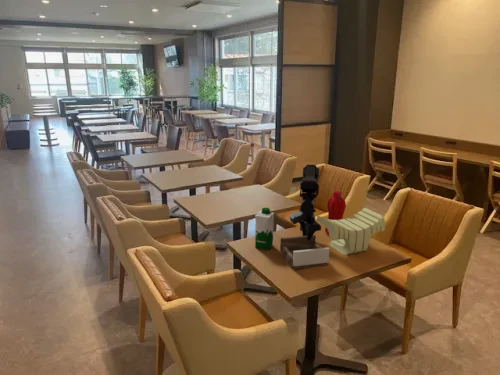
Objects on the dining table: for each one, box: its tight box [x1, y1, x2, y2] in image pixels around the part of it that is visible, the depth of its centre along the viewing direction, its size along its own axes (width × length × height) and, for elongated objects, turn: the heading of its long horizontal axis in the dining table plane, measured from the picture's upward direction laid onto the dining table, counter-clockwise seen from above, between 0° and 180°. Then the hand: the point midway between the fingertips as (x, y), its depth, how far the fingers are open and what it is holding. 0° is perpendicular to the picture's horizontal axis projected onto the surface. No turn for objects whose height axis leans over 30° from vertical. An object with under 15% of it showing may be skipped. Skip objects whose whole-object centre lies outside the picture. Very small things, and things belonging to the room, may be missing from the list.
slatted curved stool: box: [316, 207, 386, 256], centre depth 193 cm, size 30×16×18 cm, turn 113°
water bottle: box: [324, 190, 347, 237], centre depth 209 cm, size 9×11×25 cm
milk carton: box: [254, 207, 275, 251], centre depth 194 cm, size 9×9×20 cm
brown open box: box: [279, 234, 329, 269], centre depth 183 cm, size 17×18×8 cm
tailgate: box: [293, 247, 330, 266], centre depth 174 cm, size 2×17×7 cm, turn 103°
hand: (306, 237), depth 178 cm, fingers open, 5 cm apart
